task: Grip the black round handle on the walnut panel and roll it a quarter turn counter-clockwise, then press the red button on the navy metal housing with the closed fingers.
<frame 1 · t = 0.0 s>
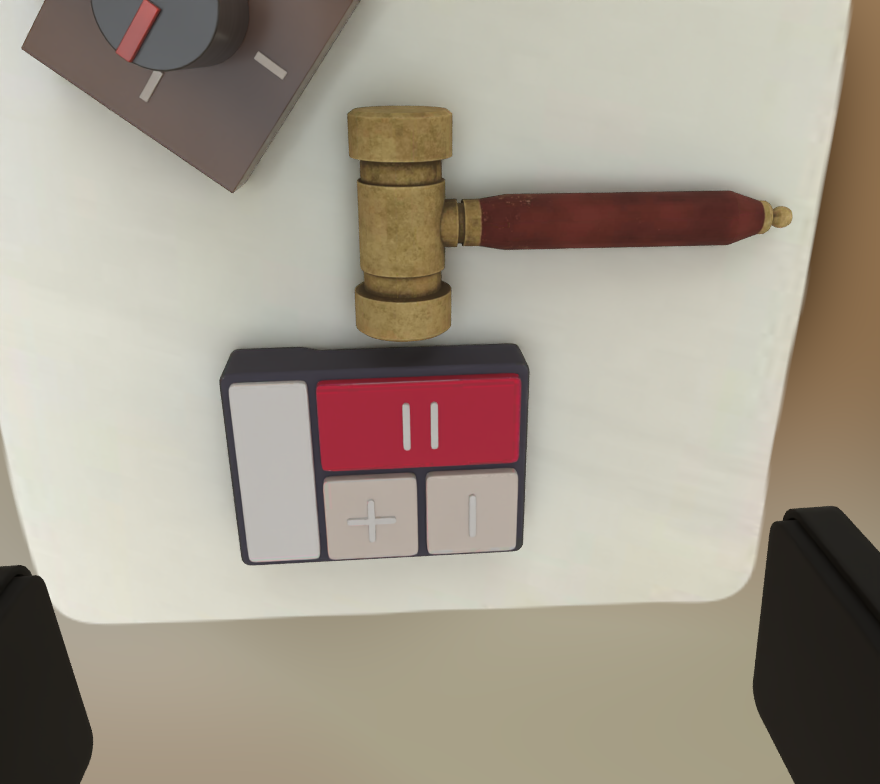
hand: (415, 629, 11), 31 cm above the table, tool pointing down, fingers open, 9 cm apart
knob: (175, 5, 30), point 6 cm above the table, hinge at 0.0°
calculator: (381, 437, 44), on the table
panel: (211, 11, 36), on the table
gavel: (569, 212, 40), on the table
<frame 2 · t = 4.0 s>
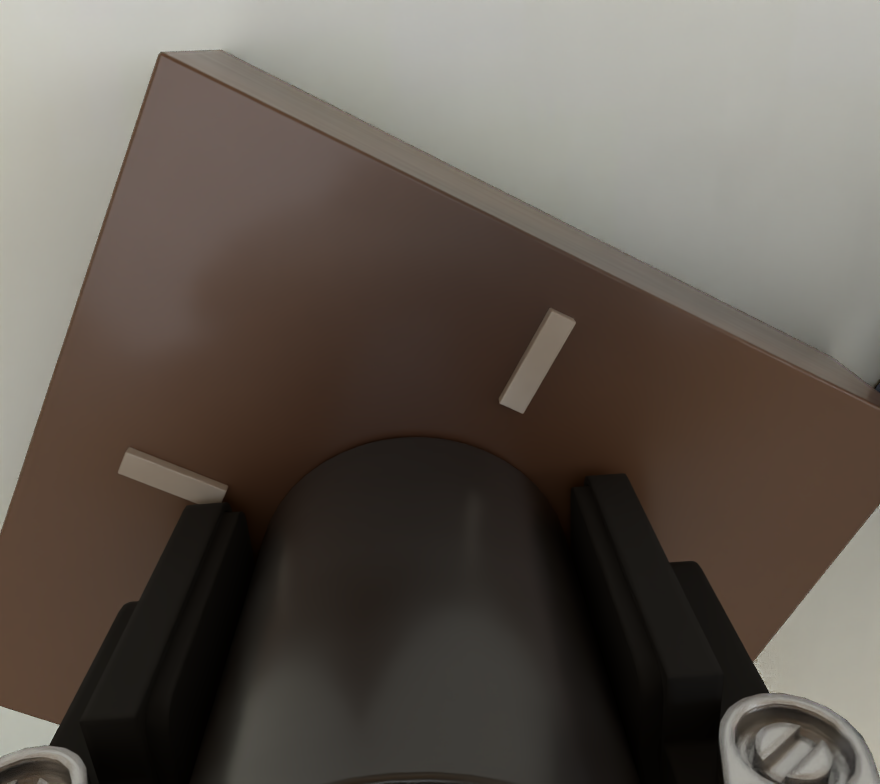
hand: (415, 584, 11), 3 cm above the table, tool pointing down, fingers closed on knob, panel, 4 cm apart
knob: (415, 728, 9), point 6 cm above the table, hinge at 0.0°, touching gripper
panel: (415, 469, 14), on the table
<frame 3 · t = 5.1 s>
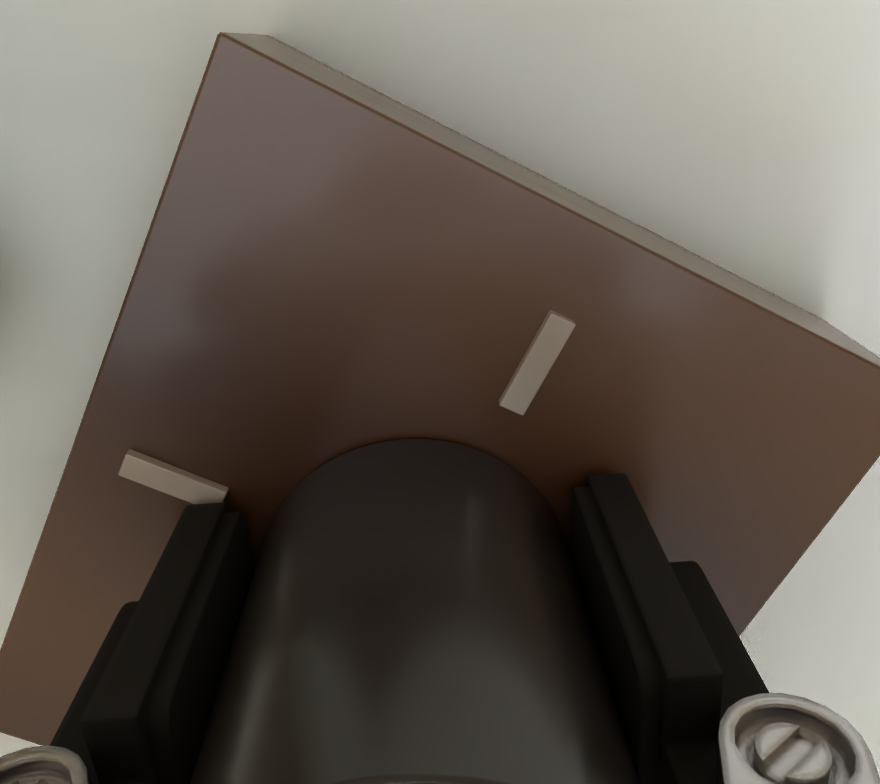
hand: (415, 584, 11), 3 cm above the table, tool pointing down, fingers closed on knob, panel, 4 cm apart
knob: (415, 730, 9), point 6 cm above the table, hinge at 90.3°, touching gripper
panel: (415, 471, 14), on the table
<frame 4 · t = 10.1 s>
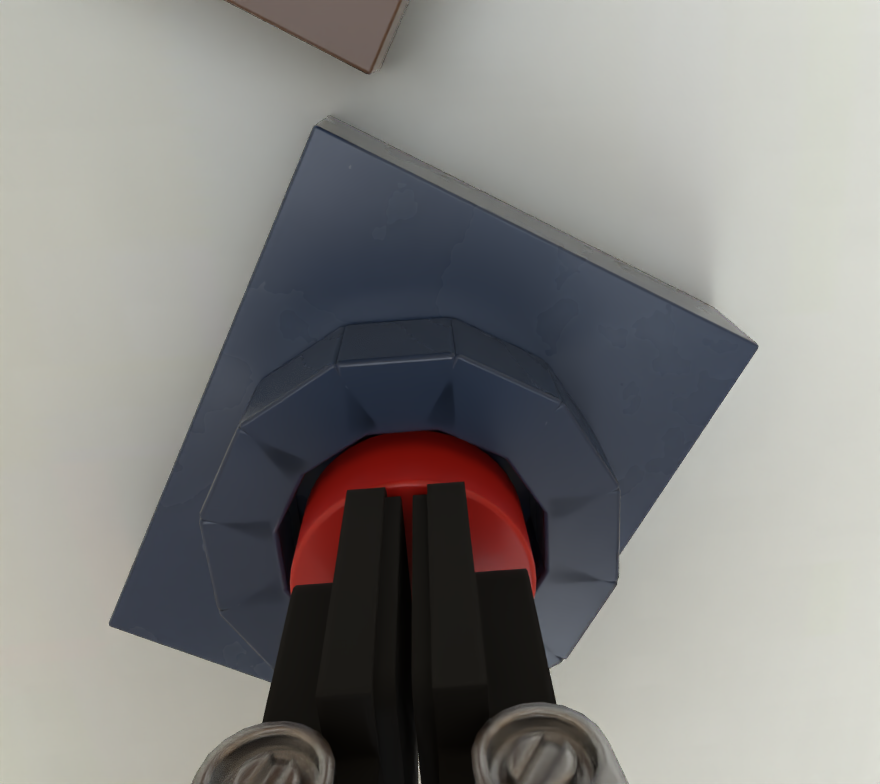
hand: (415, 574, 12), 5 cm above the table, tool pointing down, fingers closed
button: (413, 556, 13), point 4 cm above the table, slide at -0.3 cm, touching gripper
button box: (413, 440, 16), on the table
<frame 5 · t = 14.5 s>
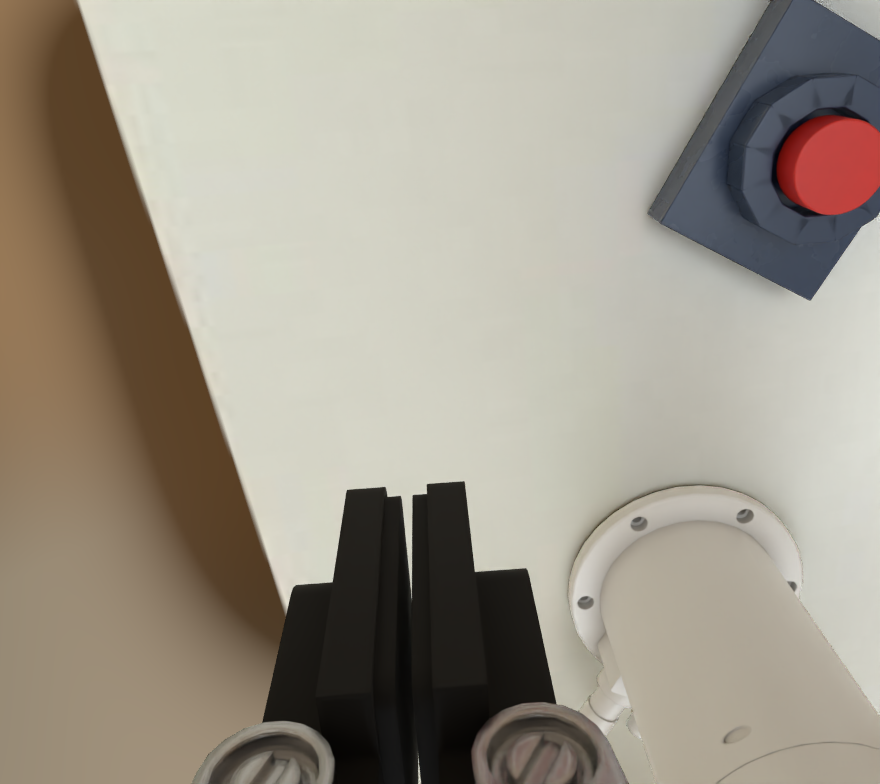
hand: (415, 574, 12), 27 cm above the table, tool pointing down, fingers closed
button: (830, 165, 32), point 4 cm above the table, slide at 0.1 cm
button box: (783, 150, 36), on the table
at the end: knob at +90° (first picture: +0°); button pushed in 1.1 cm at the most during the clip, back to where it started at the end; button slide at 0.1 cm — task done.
